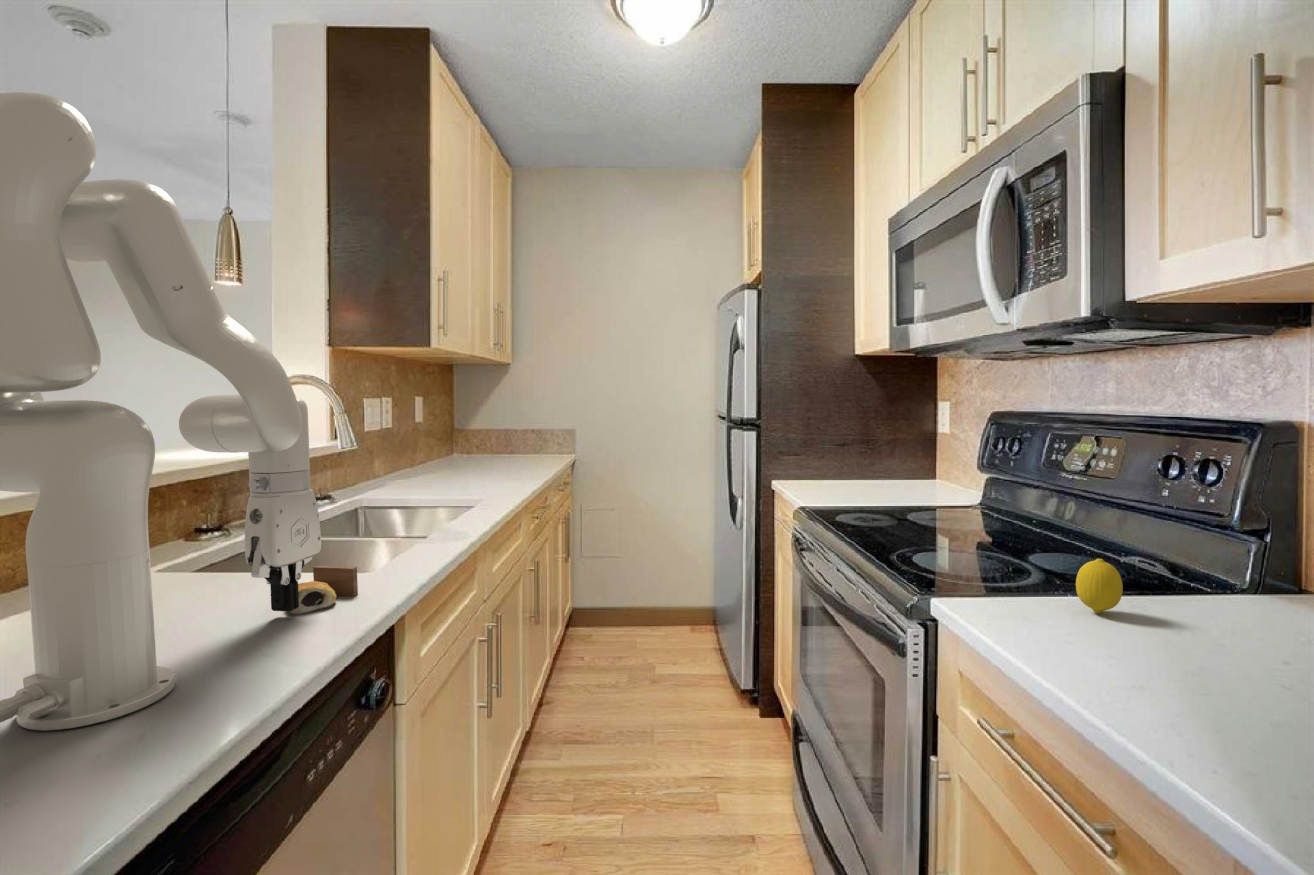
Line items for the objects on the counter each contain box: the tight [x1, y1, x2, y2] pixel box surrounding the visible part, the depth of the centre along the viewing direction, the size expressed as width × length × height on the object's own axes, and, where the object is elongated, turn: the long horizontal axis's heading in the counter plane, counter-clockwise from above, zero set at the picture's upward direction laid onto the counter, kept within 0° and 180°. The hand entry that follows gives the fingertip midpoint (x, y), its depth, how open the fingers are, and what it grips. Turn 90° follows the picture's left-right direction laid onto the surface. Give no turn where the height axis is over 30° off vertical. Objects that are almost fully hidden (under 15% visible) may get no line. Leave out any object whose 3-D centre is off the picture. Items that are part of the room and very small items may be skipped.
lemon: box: [1075, 558, 1124, 615], centre depth 92 cm, size 6×6×8 cm
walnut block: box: [312, 565, 359, 597], centre depth 103 cm, size 1×7×4 cm, turn 82°
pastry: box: [289, 580, 337, 615], centre depth 99 cm, size 9×7×4 cm
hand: (285, 609), depth 93 cm, fingers closed
